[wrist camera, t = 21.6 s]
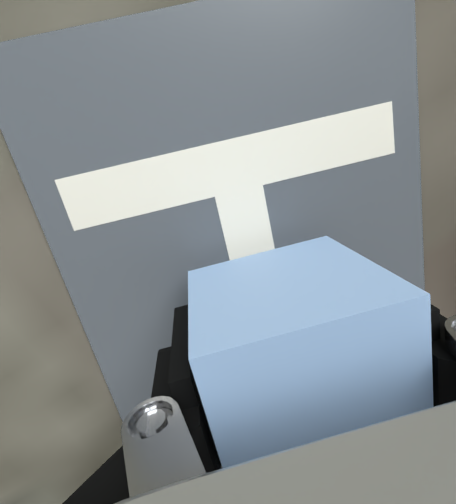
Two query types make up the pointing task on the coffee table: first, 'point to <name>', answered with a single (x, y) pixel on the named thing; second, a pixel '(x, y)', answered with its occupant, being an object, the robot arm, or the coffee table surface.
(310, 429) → the blue cube
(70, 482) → the coffee table surface
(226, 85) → the letter card
